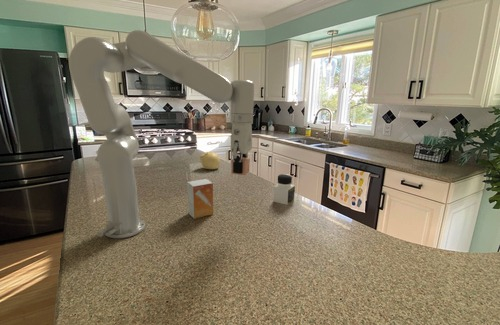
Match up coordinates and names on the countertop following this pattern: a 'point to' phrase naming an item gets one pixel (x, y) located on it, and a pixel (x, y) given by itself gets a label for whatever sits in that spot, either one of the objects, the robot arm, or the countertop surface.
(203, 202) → the small box
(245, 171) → the terracotta block
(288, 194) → the medicine bottle
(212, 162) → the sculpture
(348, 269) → the countertop surface
